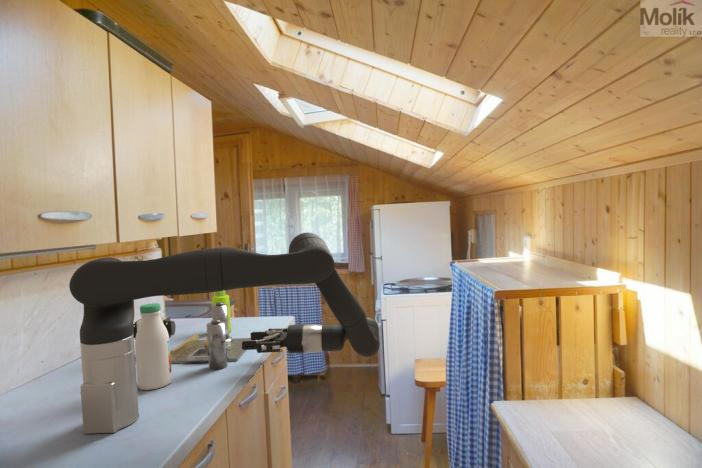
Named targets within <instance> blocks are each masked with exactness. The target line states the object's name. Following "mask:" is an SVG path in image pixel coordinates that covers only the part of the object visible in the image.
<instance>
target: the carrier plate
mask: <svg viewBox="0 0 702 468" xmlns="http://www.w3.org/2000/svg"><path fill="white" fill-rule="evenodd" d="M215 304H216V305H211V316H212V317H211V318H212V320H217V319H219V320H220V321H223V322H225V331H226V349H227V362H238V361H239V360H240V358H241V357H242V356H243V355H244V354H245V353H246V352H247V350H243V349H242V342H243V341H255V340H251V337H243V338H241V337H239V338H238V337H237V338H233V337H232V336H230V333H229V327H228V309H227V304H223V302H218V303H215ZM212 320H211V321H212ZM170 355H171V363H172V364H192V363H191V362H199V363H209V358H208V341H207V338H205V339H200V335H199V333H195V334H193V335H192V336H191V337H189V338H187V339H186V340H185V341H184V342H182V343H180V344H179V345H178V346H176V347H175V348H173V349H172V350H170Z"/></svg>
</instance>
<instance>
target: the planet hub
mask: <svg viewBox="0 0 702 468" xmlns="http://www.w3.org/2000/svg"><path fill="white" fill-rule="evenodd" d="M206 337H207V341H208V358H209V362H208V368H210V369H209V370H211V369H213V370H212V371H219V369H220V370H223V369H225V368H227V367H228V361H227V349H226V331H225V322H223V321H220V320H219V319H217V320H211V321H210V322H209V323H208V322H207V324H206Z"/></svg>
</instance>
